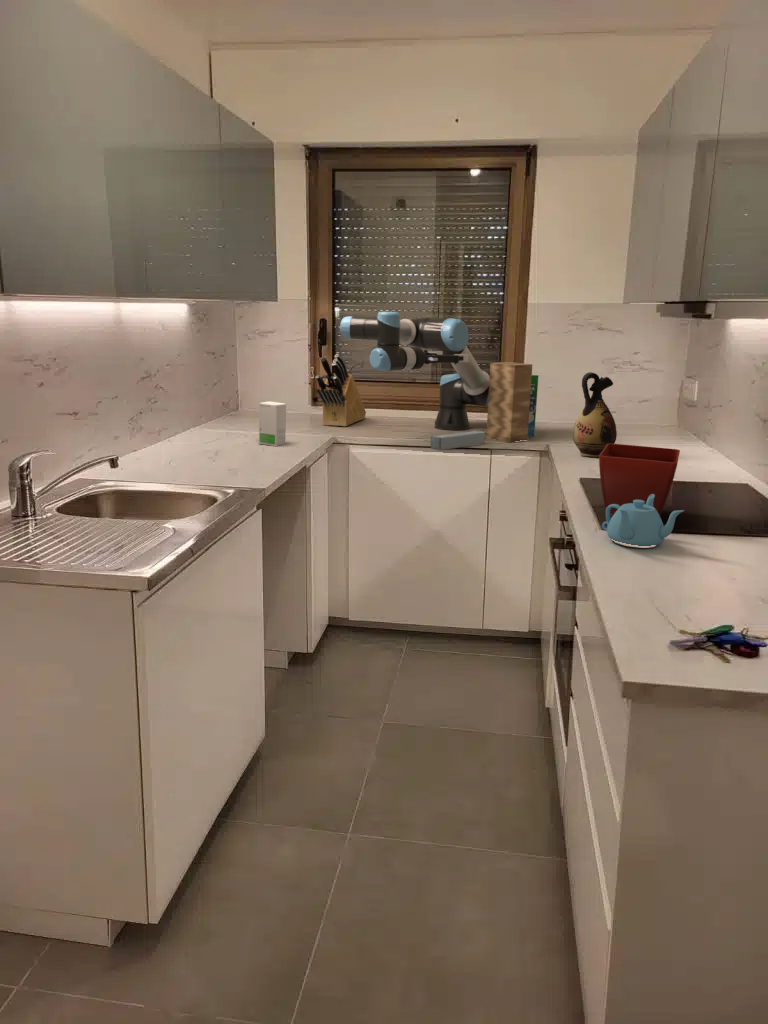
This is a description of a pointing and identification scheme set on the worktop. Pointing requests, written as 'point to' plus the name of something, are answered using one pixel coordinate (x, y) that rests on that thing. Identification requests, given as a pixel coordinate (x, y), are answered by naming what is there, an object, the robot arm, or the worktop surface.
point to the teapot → (638, 523)
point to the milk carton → (533, 405)
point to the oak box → (509, 401)
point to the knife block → (339, 395)
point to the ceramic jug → (594, 419)
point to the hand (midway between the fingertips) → (454, 356)
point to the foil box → (457, 440)
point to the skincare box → (272, 423)
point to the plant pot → (636, 474)
